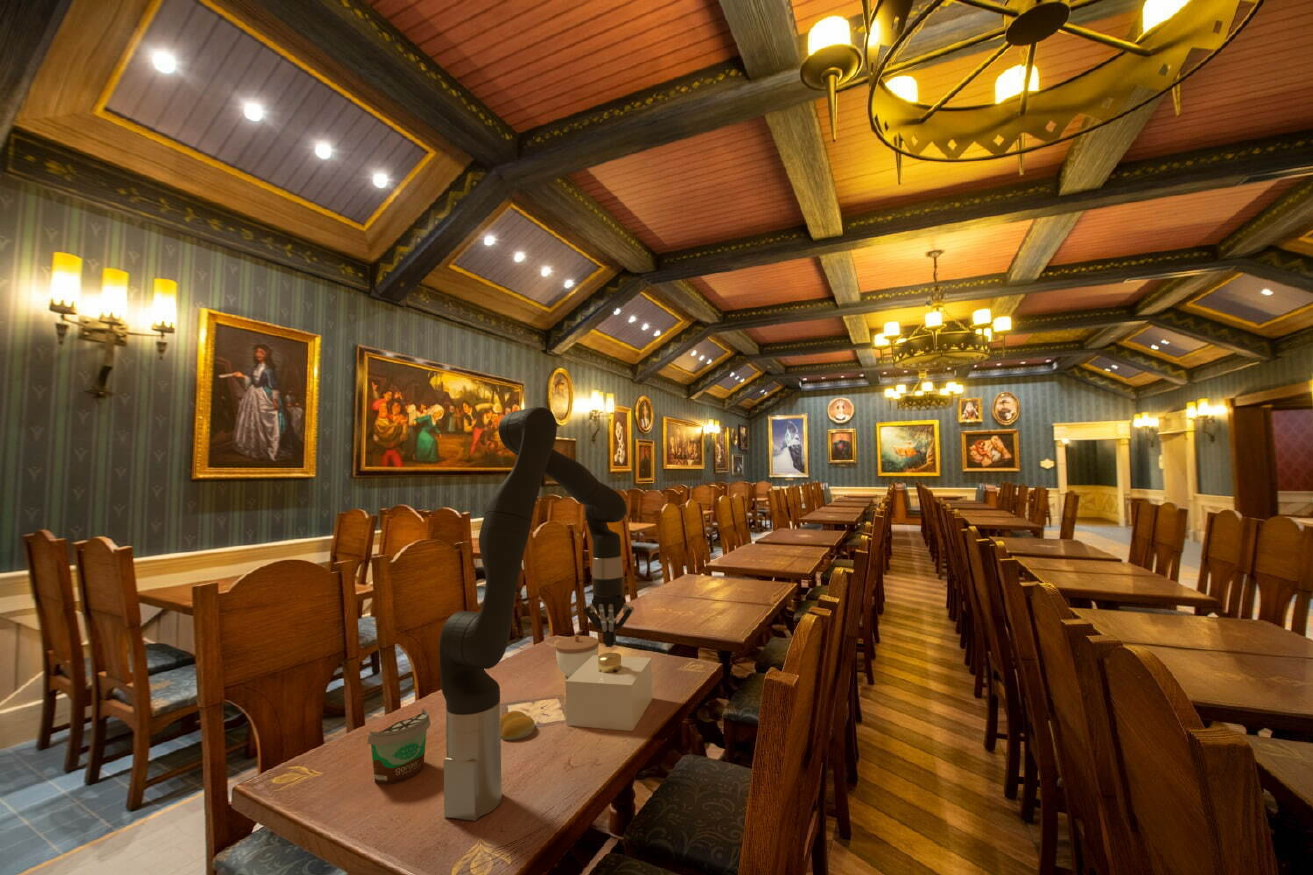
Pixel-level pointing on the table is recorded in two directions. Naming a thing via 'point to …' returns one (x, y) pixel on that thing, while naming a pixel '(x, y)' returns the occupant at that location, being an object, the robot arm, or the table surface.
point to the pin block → (609, 694)
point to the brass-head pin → (609, 662)
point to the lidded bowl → (575, 652)
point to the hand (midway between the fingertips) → (610, 645)
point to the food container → (399, 749)
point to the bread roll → (516, 725)
